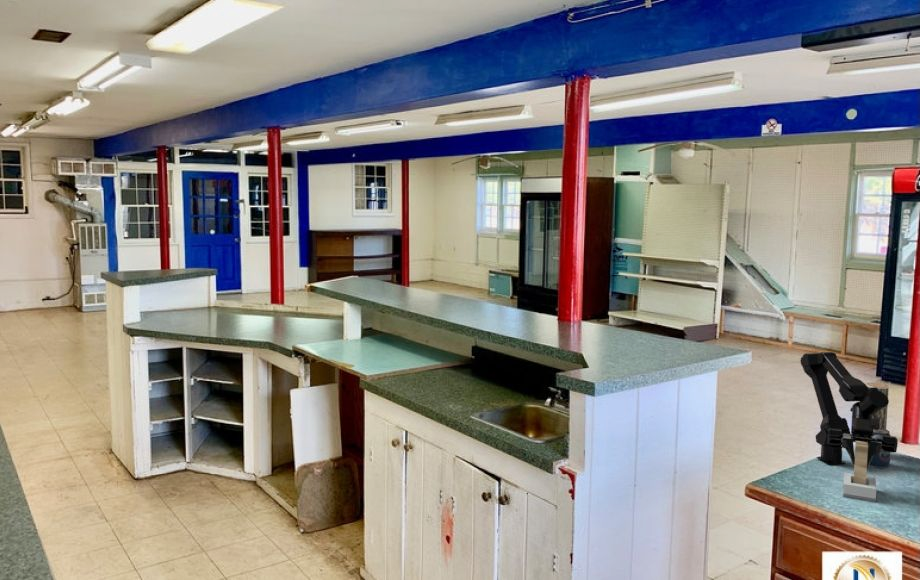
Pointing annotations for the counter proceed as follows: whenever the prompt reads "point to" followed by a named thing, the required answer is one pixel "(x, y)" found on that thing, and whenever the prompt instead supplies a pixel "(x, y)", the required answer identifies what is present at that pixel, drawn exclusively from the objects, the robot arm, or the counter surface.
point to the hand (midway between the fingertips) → (860, 465)
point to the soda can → (882, 457)
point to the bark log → (883, 413)
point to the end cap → (859, 488)
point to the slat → (860, 462)
